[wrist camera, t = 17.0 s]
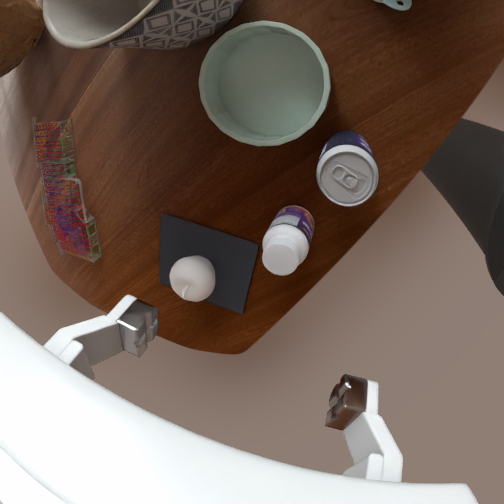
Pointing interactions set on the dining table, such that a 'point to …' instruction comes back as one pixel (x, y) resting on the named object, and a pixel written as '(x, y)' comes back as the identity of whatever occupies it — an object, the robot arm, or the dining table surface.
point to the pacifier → (392, 2)
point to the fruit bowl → (264, 83)
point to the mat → (210, 258)
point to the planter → (135, 22)
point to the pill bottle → (287, 240)
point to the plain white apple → (193, 278)
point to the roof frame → (65, 186)
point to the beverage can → (347, 169)
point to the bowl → (18, 31)
